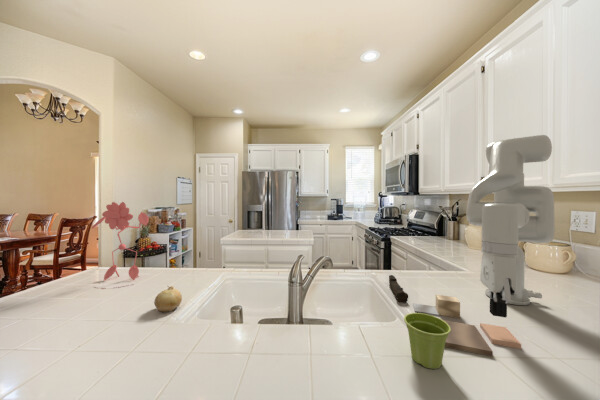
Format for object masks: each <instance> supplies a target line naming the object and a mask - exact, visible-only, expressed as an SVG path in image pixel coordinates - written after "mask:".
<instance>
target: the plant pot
mask: <svg viewBox="0 0 600 400" xmlns="http://www.w3.org/2000/svg"><path fill="white" fill-rule="evenodd" d="M443 320H444V319H441V318H440V317H438V316H435V315H429V314H423V313H417V312H411V313H407V314H405V315H404V317H403V321H404V323H405V324H406V328H407V332H408V337H409V338H408V339H409V345H410V355H411V358H412V359H413V361H414V362H415V363H416V364H420V365H421V366H423V367H424V368H427V369H431V370H433V369H435V370H436V369H439V368H440V367H441V366H442V364H443V359H444V353H445V352H444V351H445V348H446V347H445V342H446V339H447V337H448V334H449V333H450V331H451V328H450V326H449V325H448V324H447V323H446V322H445V321H446V320H445V321H443Z"/></svg>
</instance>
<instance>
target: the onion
mask: <svg viewBox="0 0 600 400" xmlns="http://www.w3.org/2000/svg"><path fill="white" fill-rule="evenodd" d="M182 299H183V296H182V293H181V291H179V290H178V289H176V288H175V287H174V286H173V285H171V286H168V285H167V289H164V290H162V291H160V292H159V293H158V294H157V295H156V297H155V299H154V302H153V303H154V306H155V308H156V310H157V311H158V312H162V313H166V312H172V311H174V310H175V309H176V308H178V307H179V306H180V305H181V303H182Z"/></svg>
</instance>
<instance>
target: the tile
mask: <svg viewBox="0 0 600 400" xmlns="http://www.w3.org/2000/svg"><path fill="white" fill-rule="evenodd" d="M479 328H480V329H481V330H482V332H483V334H484V335H485V336H486V337H487V339H488V340H489V341H490V343H491V344H494V345H498V346H504V347H509V348H515V349H519V350H521V349H522V343H521V342H520V341H519V340H518V339H517V337H515V335H513V333H511V331H510V330H509V329H508V328H507V327H506V326H500V325H495V324H494V325H493V324H489V323H488V324H487V323H481V322H479Z"/></svg>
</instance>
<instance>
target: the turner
mask: <svg viewBox="0 0 600 400" xmlns="http://www.w3.org/2000/svg"><path fill="white" fill-rule="evenodd" d="M412 306H413V309H414V313H417V312H418V313H423V314H428V315H432V316H435V315H436V316H435V317H440V316H445V317H449V318H450V317H452V318H456V319H457V318H458V319H461V301H460V299H458V297H456V296H448V295H442V294H435V306H433V305H427V304H422V303H421V304H420V303H415V302H413V303H412Z"/></svg>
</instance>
